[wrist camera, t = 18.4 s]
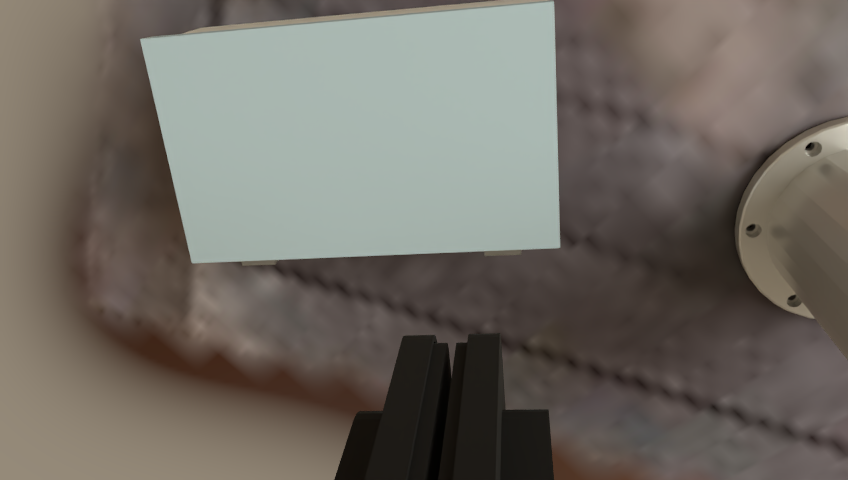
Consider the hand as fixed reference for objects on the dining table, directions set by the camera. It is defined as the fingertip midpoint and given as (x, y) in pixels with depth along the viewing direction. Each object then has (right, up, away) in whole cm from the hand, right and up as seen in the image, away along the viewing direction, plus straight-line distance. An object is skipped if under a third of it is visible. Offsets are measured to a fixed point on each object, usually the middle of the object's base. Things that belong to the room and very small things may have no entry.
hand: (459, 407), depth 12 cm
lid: (-4, +8, +24) cm, 26 cm away
